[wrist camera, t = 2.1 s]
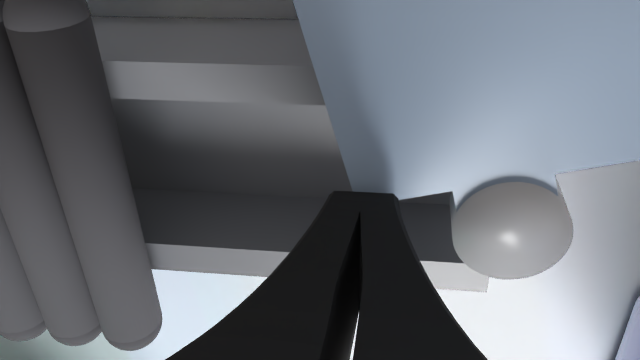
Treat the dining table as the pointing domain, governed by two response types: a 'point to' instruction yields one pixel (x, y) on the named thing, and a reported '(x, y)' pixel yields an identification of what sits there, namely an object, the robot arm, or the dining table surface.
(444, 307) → the robot arm
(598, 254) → the dining table surface
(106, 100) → the grey ridged block
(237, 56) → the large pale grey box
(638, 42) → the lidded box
